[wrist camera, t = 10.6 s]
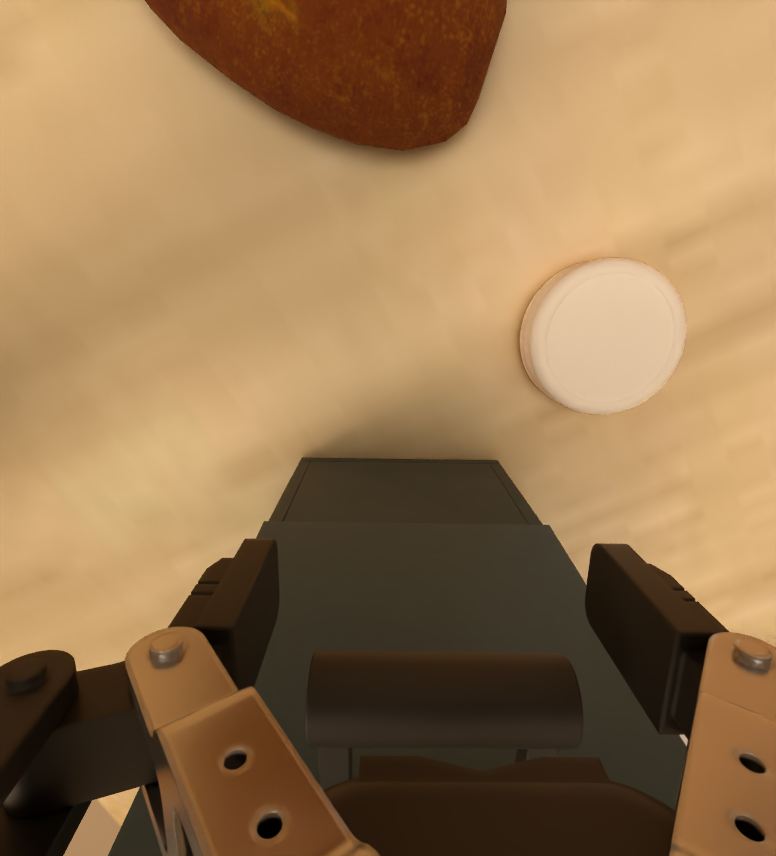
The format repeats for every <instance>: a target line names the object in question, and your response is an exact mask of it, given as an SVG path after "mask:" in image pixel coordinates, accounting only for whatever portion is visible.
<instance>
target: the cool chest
mask: <svg viewBox="0 0 776 856" xmlns="http://www.w3.org/2000/svg"><path fill="white" fill-rule="evenodd" d="M269 521H275V522H354V523H432V524H510V525H543V524H542V523H541V521H540V520H539V519H538V517H537V516H536V514H535V513H534V511H533V510H532V509H531V507H530V506H529V504H528V503H527V501H526V500H525V499H524V497H523V496H522V494H521V493H520V492H519V490H518V489H517V487H516V486H515V484H514V483H513V482H512V480H511V479H510V477H509V476H508V474H507V473H506V472H505V470H504V469H503V467H502V466H501V465H500V463H499V462H498V461H494V460H423V459H352V458H302V459H301V460H300V462H299V464H298V466H297V468H296V470H295V472H294V474H293V476H292V478H291V479H290V481H289V483H288V485H287V487H286V489H285V491H284V493H283V495H282V497H281V499H280V500H279V502H278V504H277V506H276V508H275V510H274V512H273V514H272V516H271V518H270V519H269Z"/></svg>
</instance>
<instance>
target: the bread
mask: <svg viewBox="0 0 776 856" xmlns="http://www.w3.org/2000/svg"><path fill="white" fill-rule="evenodd" d="M145 1H146V2H147V4H148V5H149V6H150V8H151V9H152V10H153V11H154V12H155V13H156V14H157V16H158V17H159V18H160V19H161V20H162V21H163V22H164V23H165V24H166V25H167V26H168V27H169V28H170V29H171V30H172V31H173V32H174V33H175V34H176V36H177V37H178V38H179V39H180V40H181V41H183V42H184V43H185V44H186V45H188V46H189V47H190V48H192V49H193V50H194V51H195V52H197V53H198V54H199V55H201V56H202V57H203V58H204V59H206V60H207V61H208V62H209V63H211V64H212V65H213V66H215V67H216V68H217V69H218V70H220V71H221V72H222V73H224V74H225V75H226V76H227V77H229V78H230V79H231V80H233V81H234V82H235V83H237V84H238V85H240V86H241V87H243V88H244V89H246V90H247V91H249V92H250V93H252V94H253V95H255V96H256V97H258V98H259V99H261V100H262V101H264V102H265V103H266V104H268V105H269V106H271V107H272V108H274V109H275V110H278V111H280V112H282V113H284V114H286V115H288V116H290V117H292V118H294V119H296V120H298V121H300V122H302V123H304V124H306V125H308V126H310V127H312V128H315V129H317V130H320V131H323V132H326V133H328V134H331V135H334V136H337V137H340V138H342V139H345V140H348V141H351V142H353V143H356V144H360V145H367V146H375V147H382V148H389V149H396V150H403V151H404V150H409V149H414V148H419V147H423V146H427V145H431V144H436V143H440V142H444V141H446V140H448V139H449V138H450V137H451V136H453V135H454V134H455V133H456V132H457V131H459V130H460V129H461V128H462V127H464V126H465V125H466V124H467V122H468V120H469V118H470V116H471V114H472V112H473V109H474V107H475V105H476V103H477V101H478V98H479V95H480V92H481V89H482V86H483V83H484V80H485V76H486V73H487V70H488V67H489V64H490V61H491V58H492V55H493V52H494V48H495V45H496V42H497V39H498V36H499V33H500V30H501V27H502V24H503V20H504V17H505V14H506V2H507V0H145Z"/></svg>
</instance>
